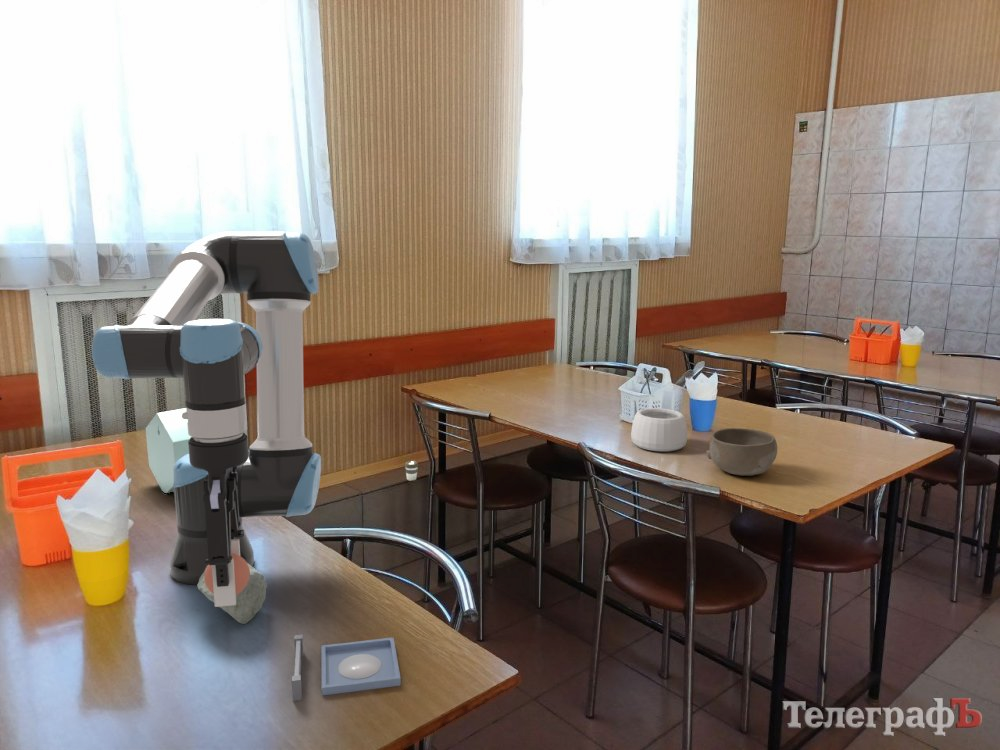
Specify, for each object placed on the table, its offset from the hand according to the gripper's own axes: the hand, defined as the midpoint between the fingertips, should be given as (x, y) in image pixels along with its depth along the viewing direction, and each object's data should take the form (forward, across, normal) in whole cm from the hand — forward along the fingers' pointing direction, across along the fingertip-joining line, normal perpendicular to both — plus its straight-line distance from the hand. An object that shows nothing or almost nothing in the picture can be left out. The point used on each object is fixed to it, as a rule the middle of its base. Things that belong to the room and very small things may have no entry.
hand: (228, 592), depth 107 cm
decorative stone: (+15, -21, -2) cm, 26 cm away
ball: (0, 0, 0) cm, 0 cm away
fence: (+15, -1, +9) cm, 17 cm away
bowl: (+15, -75, +123) cm, 145 cm away
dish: (+15, -1, +18) cm, 23 cm away
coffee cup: (+15, -85, +34) cm, 93 cm away
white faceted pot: (+15, -104, +110) cm, 152 cm away
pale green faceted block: (+15, -87, -23) cm, 91 cm away
